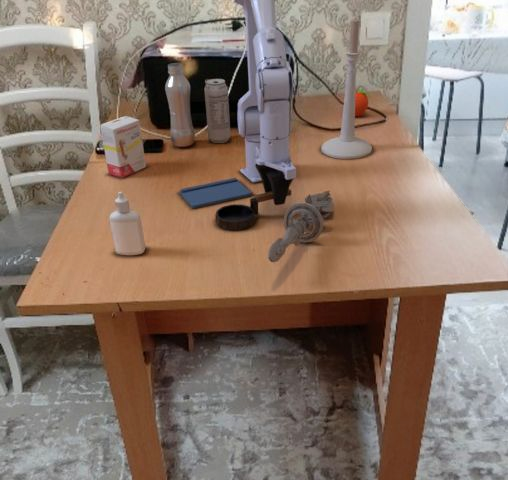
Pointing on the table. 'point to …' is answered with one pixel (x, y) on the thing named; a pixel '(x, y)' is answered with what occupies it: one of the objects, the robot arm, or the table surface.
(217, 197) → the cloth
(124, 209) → the eye dropper bottle
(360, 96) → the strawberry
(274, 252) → the spaceship
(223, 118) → the energy drink can
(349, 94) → the candlestick
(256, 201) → the pan
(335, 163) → the table surface
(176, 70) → the plastic bottle
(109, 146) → the ink box
